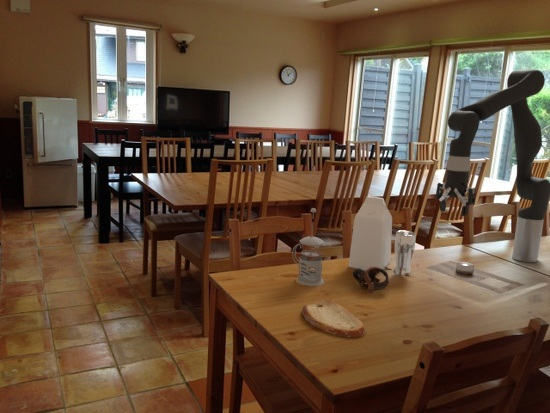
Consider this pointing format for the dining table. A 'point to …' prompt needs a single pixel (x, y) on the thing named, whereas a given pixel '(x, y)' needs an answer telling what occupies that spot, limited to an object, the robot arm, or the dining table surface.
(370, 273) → the dark brown twisted loop
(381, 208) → the milk
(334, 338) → the dining table surface
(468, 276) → the grey flat slab
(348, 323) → the bread slice
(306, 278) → the french press
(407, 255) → the beer glass
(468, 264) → the glossy grey dome
